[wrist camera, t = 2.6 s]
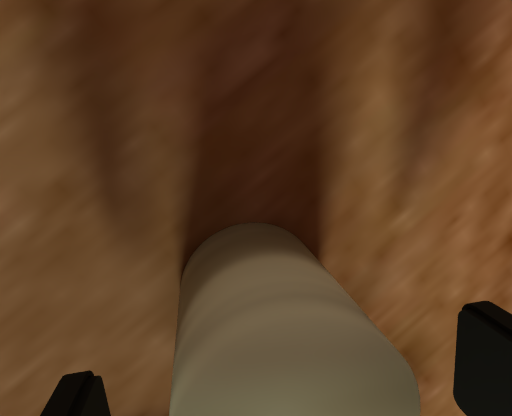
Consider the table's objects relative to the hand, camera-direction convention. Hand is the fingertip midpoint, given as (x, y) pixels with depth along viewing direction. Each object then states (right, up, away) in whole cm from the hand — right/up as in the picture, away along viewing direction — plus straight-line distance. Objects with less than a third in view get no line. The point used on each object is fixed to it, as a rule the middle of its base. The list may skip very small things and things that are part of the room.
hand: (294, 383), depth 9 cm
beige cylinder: (-1, +2, +4) cm, 4 cm away
